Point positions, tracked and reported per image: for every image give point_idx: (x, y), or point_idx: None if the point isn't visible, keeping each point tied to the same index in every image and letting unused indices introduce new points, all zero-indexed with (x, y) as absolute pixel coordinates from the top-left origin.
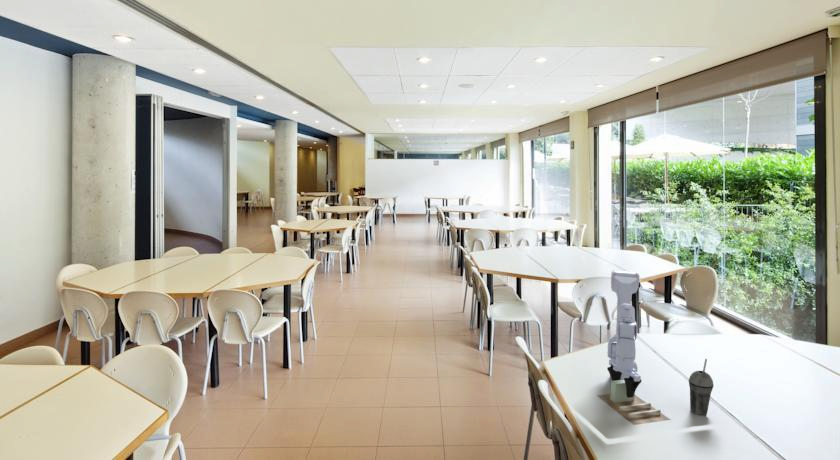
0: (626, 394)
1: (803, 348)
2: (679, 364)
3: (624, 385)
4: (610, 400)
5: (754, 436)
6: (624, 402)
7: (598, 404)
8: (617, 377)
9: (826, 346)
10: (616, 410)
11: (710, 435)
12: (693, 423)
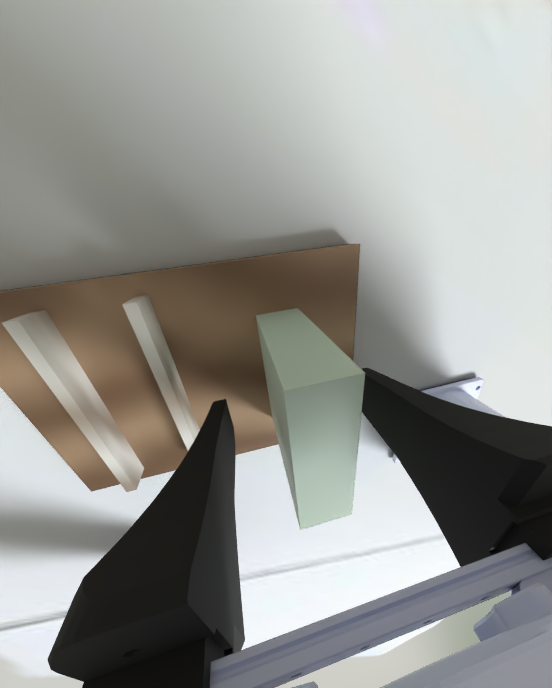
0: (223, 407)
1: (391, 643)
2: (431, 548)
3: (286, 447)
4: (285, 302)
5: (65, 612)
6: (255, 368)
7: (281, 214)
8: (407, 443)
9: (385, 652)
10: (151, 278)
11: (26, 550)
12: (115, 528)
